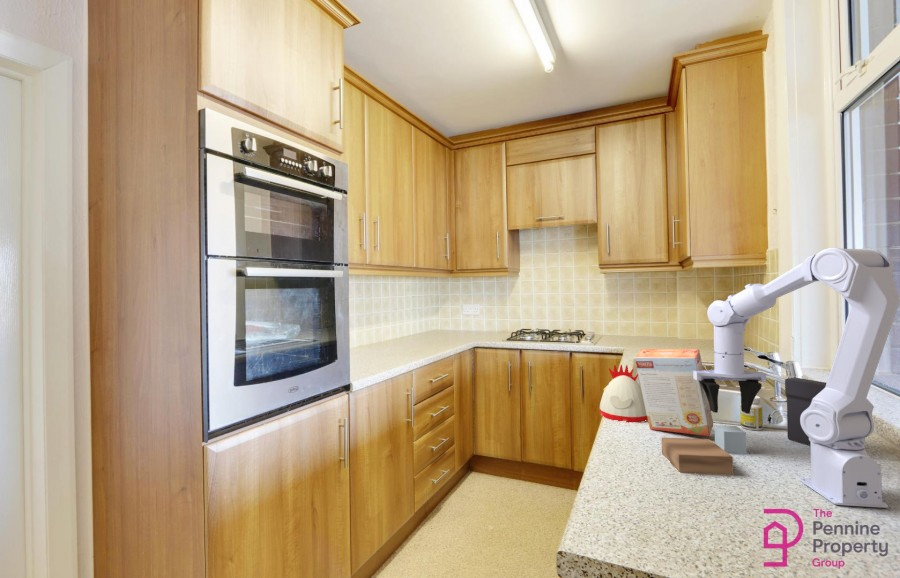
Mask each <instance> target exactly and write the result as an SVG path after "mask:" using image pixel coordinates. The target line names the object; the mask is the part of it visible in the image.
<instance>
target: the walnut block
mask: <svg viewBox="0 0 900 578" xmlns="http://www.w3.org/2000/svg"><path fill="white" fill-rule="evenodd" d="M661 454H662V456H663V457H664V458H665V457H666V458H667V459H668V460H669V461H670V462H669V461H668V460H667V459H666V458H665V459H666V460H667V461H668V462H669V463H670V464H671V465H672V466H673V467H674V469H675V468H676V469H677V470H678V471H677V470H676V469H675V470H676V471H677V472H678V473H679V472H680V473H679V474H695V473H696V474H697V473H698V474H699V475H702V474H703V475H717V476H718V475H720V476H721V475H722V476H734V462H733V461H734V456H732V454H728V453H727V452H726V451H724V450H723V449H722V448H720V447H719V446H718V445H716V444H715V441H712V440H711V439H710V438H688V437H687V438H685V437H661Z"/></svg>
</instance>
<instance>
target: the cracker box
mask: <svg viewBox="0 0 900 578" xmlns="http://www.w3.org/2000/svg"><path fill="white" fill-rule="evenodd" d="M634 360H635V361H634V362H635V365H636V370H637V374H638V379H639V385H640V386H641V390H642V394H643V399H644V404H645V409H646V413H647V418H648V421H647V422H648V427H649V430H655V431H662V432H663V431H665V432H672V433H679V434H680V433H682V434H690V435H697V436H704V437H705V436H707V437H710V436H711V434H712V431H713V426H714V421H713V414H712V411H711V410H710V406H709V402H708V399H707V396H706V394H705V391H704V389H703V388H702V386H701V384H700V382H699V381H698V380H695V379H693V371H702V370H704V368H703V363H702V357H701V351H700V349H699V348H670V349H669V348H665V349H663V348H661V349H659V348H658V349H657V348H656V349H655V348H642V349H640V350H639V351H638V353H637V354H636V356H635V357H634Z"/></svg>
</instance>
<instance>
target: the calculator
mask: <svg viewBox="0 0 900 578" xmlns="http://www.w3.org/2000/svg"><path fill="white" fill-rule="evenodd" d="M826 384H827V381H826V382H825V381H818V380H812V379H806V378H801V377H789V378H785V379H784V393H785V396H786V420H787V421H786V422H787V423H786V425H787V428H786V429H787V431H786V432H787V439H788V440H789V441H793V442H795V443H799V444H802V445H806V446H809V447H811V441H809V437H808V436H807V435H806V433H805V432H804V431H803V429H802V427H801V423H800V417H801V414H802V413H803V411H804V410H806V409H807V408H808V407H809V406H810V405H811V402H812V399H813V398H814V397H815V396H816V395H817V394H818V393H820V392H821V391H822V390H823V389H824V388H825V387H826Z"/></svg>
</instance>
